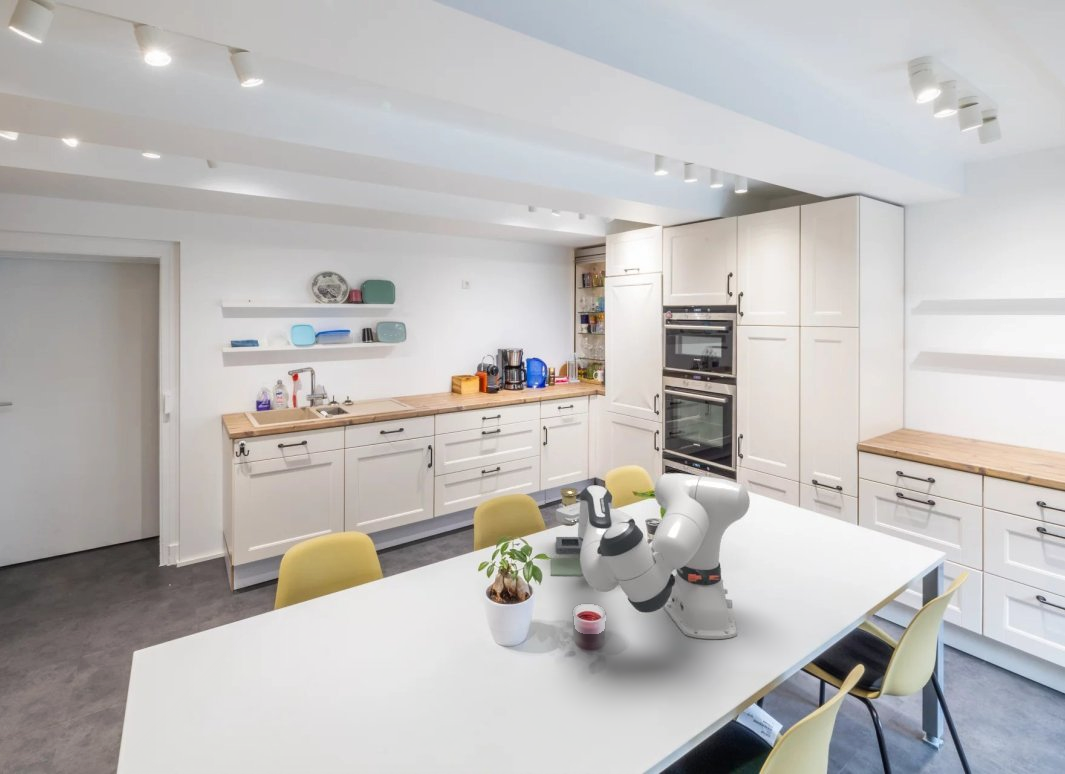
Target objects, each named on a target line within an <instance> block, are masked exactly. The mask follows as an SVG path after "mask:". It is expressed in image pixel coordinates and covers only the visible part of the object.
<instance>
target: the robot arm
mask: <svg viewBox="0 0 1065 774" xmlns="http://www.w3.org/2000/svg"><path fill="white" fill-rule="evenodd" d="M653 494H654V498H655V500H656V502H657V504H658V506H660V507H661V508H663V509H664V510H665V513H664V515H663V517H661V519H660V521H659V523H658V525H657V527H656V529H655V532H654V535H653V537H652V538H653V539H652V540H651V542H648V540H647V539H646V538H645V537H644V536H645V535H644V533H643V532H642V530H641V529H640V528H639V526H638V525H636V521H635V519H634V518H633V517H632V516H631V515H629V514H627V513H625V512H624V511H621V510H619V509H616V508H614V501H613V495H612V493H611V491H610V490H609V489H607V488H606V487H605V486H601V485H594V484H593V485H588V486H585V488H584V489H582V490H581V491H580V492H579V499H577V498H576V503H575V504H572V505H569V506H566V504H563V503H562V502H561V503H559V504H558V508H556V510H555V518H556V520H557V521H558V522H561V523H562V522H563V523H567V524H575V525H576V524H577V523H578V524H577V525H578V527H577V537H579V538H580V540H581V541H583V542H582V546H581V552H580V554H579V558H580V564H581V572H582V576H583V577H584V579H585V581H586V583H588V585H589V586H590V587H591V588H592V589H594V590H595V591H598V592H610V591H612V590H614V589H616V588H617V587H618V586H620V588H621V590H622V591H623V593H624V594H625V595H626V596H627V599H628V602H629V604H631V605H632V607H633V608H634V609H635V610H637V611H638V612H639V613H645V614H646V613H647V614H648V613H653V612H657V611H658V610H659V609H661V608H664V610H665V611H666V613H667V614H668V615H669V616H670V618H671V620H673V622H674V623H675V625H677V627H678V628H679V629H680V631H681V632H682V633H683V634H684V635H685V636H688V637H690V638H691V637H692V638H697V639H703V640H705V639H706V640H722V639H731V638H734V637H736V636H737V634H738V633H737V628H736V624H735V623H736V622H735V620H734V615H733V611H732V609H733V600H732V599H728V598H727V597H726V595H728V588H725V587H724V579H723V578H722V568H721V563H720V551H721V549H720V548H721V542H722V539H723V535H724V534H725V533H726V530H727V529H728V528H729V527H730V526H731V525H733V524H734V523H735V522H737V521H739V520H741V519H742V518H743V517H744V516H745V515H746V514H747V512H748V511H749V508H750V494H749V492H748V490H747V489H746V487H745V486H744V485H743V484H741V483H738V482H735V481H732V480H729V479H726V478H717V477H712V476H711V477H710V476H705V475H704V476H703V475H697V474H696V475H694V474H688V473H679V472H677V473H676V472H675V473H674V472H673V473H663V474H662V475H660V477H659V478H658V479H657V480H656V482H655V485H654V490H653ZM675 570H676V573H675V574H673V572H674V571H675Z"/></svg>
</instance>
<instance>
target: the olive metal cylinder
mask: <svg viewBox="0 0 1065 774" xmlns="http://www.w3.org/2000/svg"><path fill="white" fill-rule="evenodd" d="M560 495H561V504H562V503H563V504H566V506H569V505H572V504H575V503H576V499H577V495H578V489H577V488H575V487H570V486H569V487H562V488H561V489H560ZM561 524H562V525H563V526H566V527H572V526H575V525H576V524H567V523H563V522H561Z"/></svg>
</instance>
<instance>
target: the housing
mask: <svg viewBox="0 0 1065 774" xmlns="http://www.w3.org/2000/svg"><path fill="white" fill-rule="evenodd" d="M582 542H583V541H581V540H580V538H579V537H578V536H556V538H555V545H556V549H555V550H556V554H559V555H570V554H573V555H575V554H576V555H580V552H581V546H582Z"/></svg>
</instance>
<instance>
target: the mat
mask: <svg viewBox="0 0 1065 774" xmlns="http://www.w3.org/2000/svg"><path fill="white" fill-rule="evenodd" d="M550 576H551V577H583V572H582V569H581V564H580V557H577V558H575V557H573V558H572V557H570V558H569V557H566V558H565V557H561V558H560V557H559V558H558V557H553V558H552V557H551V558H550Z"/></svg>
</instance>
